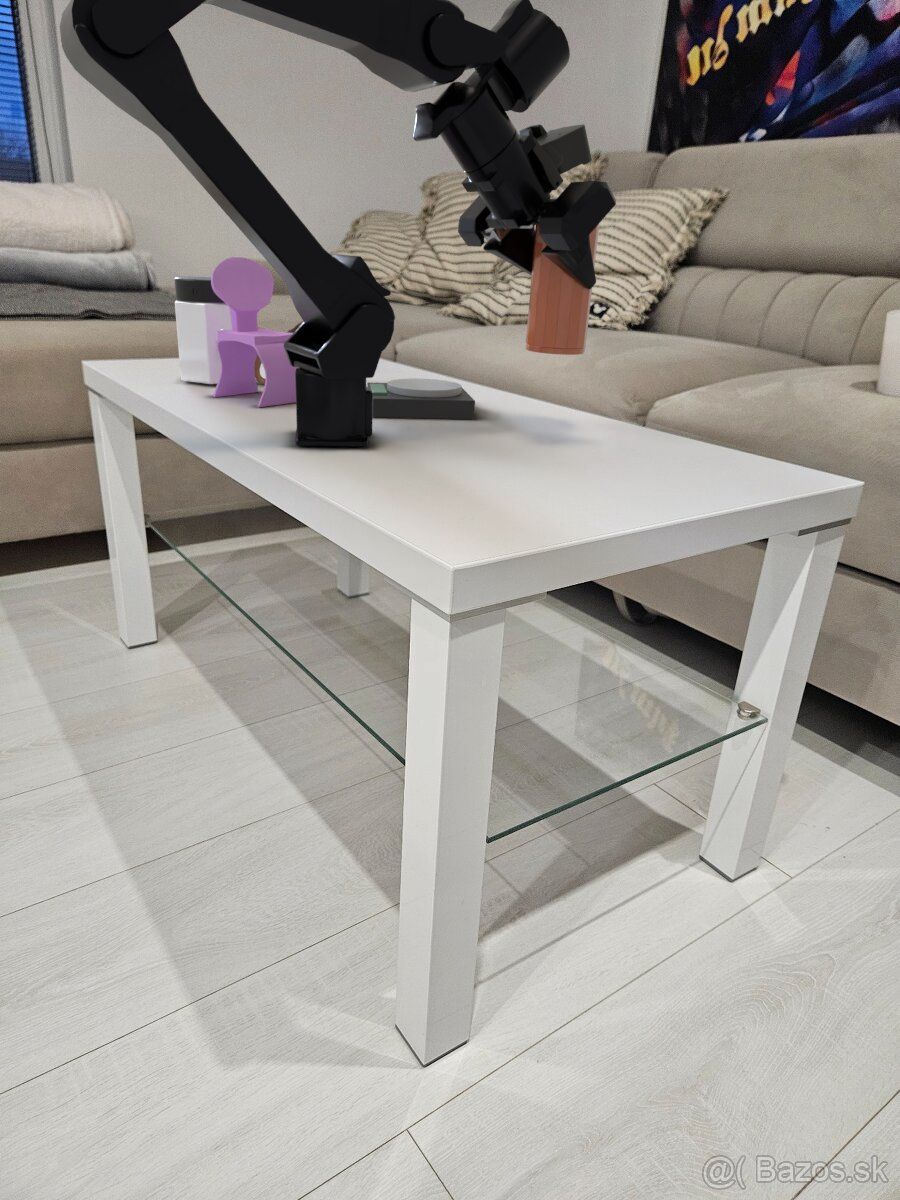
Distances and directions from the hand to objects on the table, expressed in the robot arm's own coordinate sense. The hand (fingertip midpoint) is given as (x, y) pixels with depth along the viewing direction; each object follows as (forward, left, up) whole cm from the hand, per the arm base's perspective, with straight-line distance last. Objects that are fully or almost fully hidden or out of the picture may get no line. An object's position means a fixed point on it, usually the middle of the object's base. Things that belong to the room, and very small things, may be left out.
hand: (572, 284), depth 84 cm
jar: (-39, +24, -14) cm, 48 cm away
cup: (-1, -1, -7) cm, 7 cm away
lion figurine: (-30, +24, -14) cm, 41 cm away
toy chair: (-33, +11, -14) cm, 37 cm away
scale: (-15, +7, -14) cm, 22 cm away
